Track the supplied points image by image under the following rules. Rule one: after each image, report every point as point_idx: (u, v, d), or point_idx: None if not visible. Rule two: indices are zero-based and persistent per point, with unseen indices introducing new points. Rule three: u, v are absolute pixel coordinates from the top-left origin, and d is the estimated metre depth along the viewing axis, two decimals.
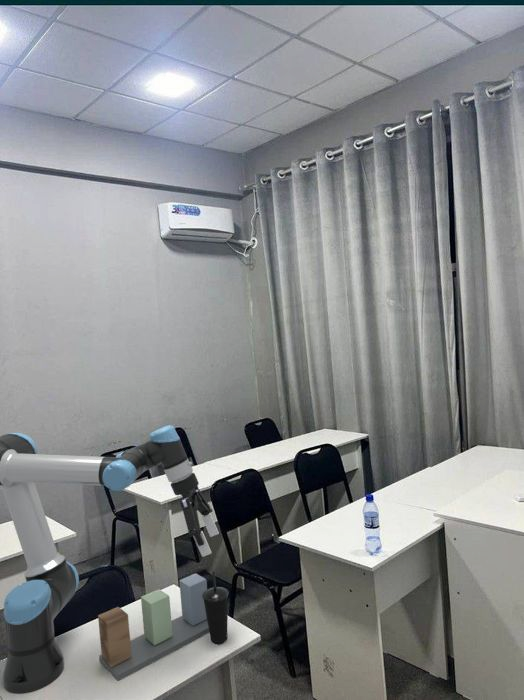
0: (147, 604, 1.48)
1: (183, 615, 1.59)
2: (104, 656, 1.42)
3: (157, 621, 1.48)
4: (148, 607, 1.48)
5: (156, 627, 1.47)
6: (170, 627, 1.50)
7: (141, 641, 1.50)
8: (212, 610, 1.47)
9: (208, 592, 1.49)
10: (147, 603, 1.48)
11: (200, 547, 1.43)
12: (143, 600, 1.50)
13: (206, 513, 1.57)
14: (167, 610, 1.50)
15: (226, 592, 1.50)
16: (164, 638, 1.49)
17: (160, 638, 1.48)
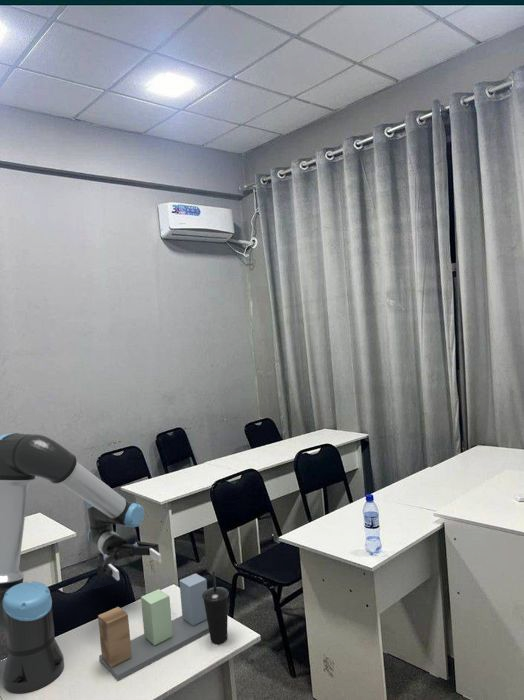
0: (147, 604, 1.48)
1: (183, 615, 1.59)
2: (104, 656, 1.42)
3: (157, 621, 1.48)
4: (148, 607, 1.48)
5: (156, 627, 1.47)
6: (170, 627, 1.50)
7: (141, 641, 1.50)
8: (212, 610, 1.47)
9: (208, 592, 1.49)
10: (147, 603, 1.48)
11: None
12: (143, 600, 1.50)
13: None
14: (167, 610, 1.50)
15: (226, 592, 1.50)
16: (164, 638, 1.49)
17: (160, 638, 1.48)
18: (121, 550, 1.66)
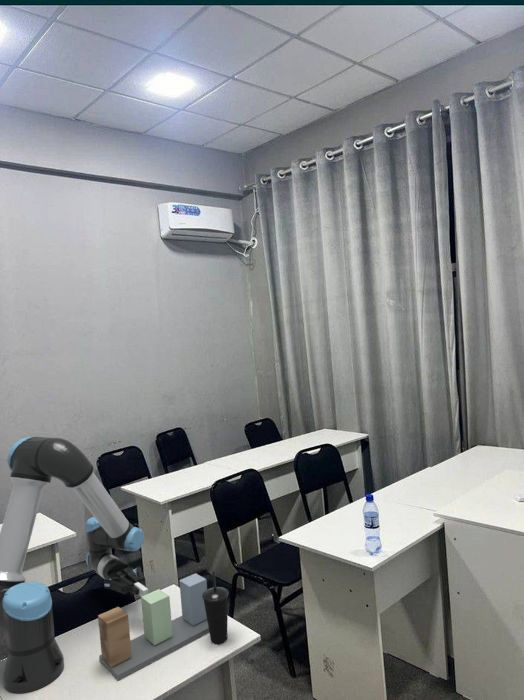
0: (147, 604, 1.48)
1: (183, 615, 1.59)
2: (104, 656, 1.42)
3: (157, 621, 1.48)
4: (148, 607, 1.48)
5: (156, 627, 1.47)
6: (170, 627, 1.50)
7: (141, 641, 1.50)
8: (212, 610, 1.47)
9: (208, 592, 1.49)
10: (147, 603, 1.48)
11: None
12: (143, 600, 1.50)
13: None
14: (167, 610, 1.50)
15: (226, 592, 1.50)
16: (164, 638, 1.49)
17: (160, 638, 1.48)
18: (122, 574, 1.68)
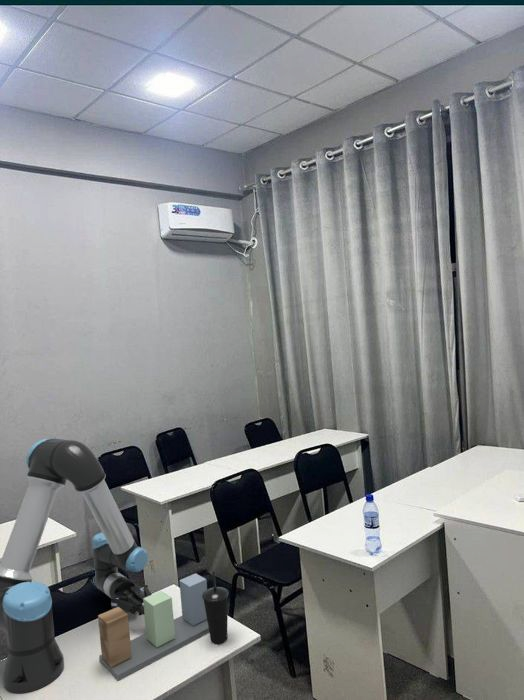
0: (149, 606, 1.47)
1: (183, 615, 1.59)
2: (104, 656, 1.42)
3: (159, 623, 1.46)
4: (150, 608, 1.47)
5: (159, 629, 1.46)
6: (172, 629, 1.49)
7: (141, 641, 1.50)
8: (212, 610, 1.47)
9: (208, 592, 1.49)
10: (149, 605, 1.47)
11: None
12: (145, 602, 1.49)
13: None
14: (169, 612, 1.49)
15: (226, 592, 1.50)
16: (166, 640, 1.48)
17: (162, 640, 1.47)
18: (130, 593, 1.64)
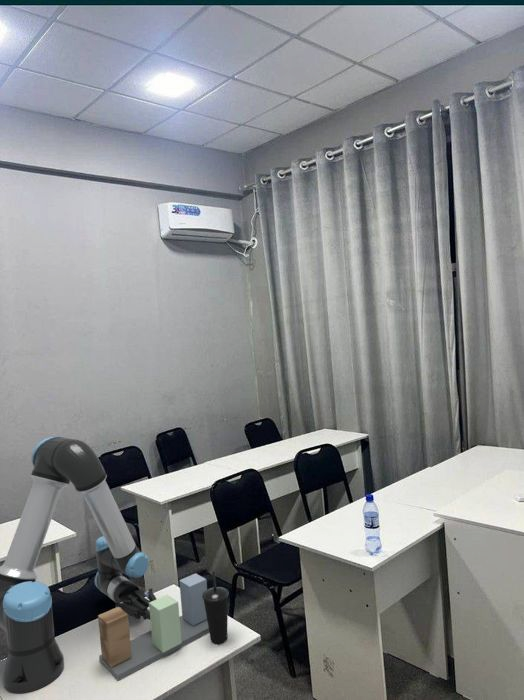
0: (155, 611, 1.44)
1: (183, 615, 1.59)
2: (104, 656, 1.42)
3: (165, 628, 1.44)
4: (156, 613, 1.44)
5: (165, 634, 1.44)
6: (179, 634, 1.47)
7: (141, 641, 1.50)
8: (212, 610, 1.47)
9: (208, 592, 1.49)
10: (155, 609, 1.44)
11: None
12: (151, 606, 1.46)
13: None
14: (176, 616, 1.46)
15: (226, 592, 1.50)
16: (173, 645, 1.45)
17: (169, 645, 1.44)
18: (134, 597, 1.61)
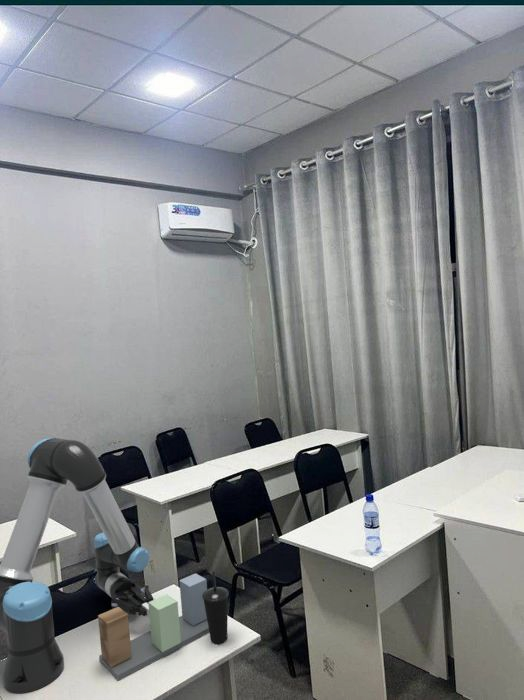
0: (154, 610, 1.45)
1: (183, 615, 1.59)
2: (104, 656, 1.42)
3: (165, 627, 1.44)
4: (156, 612, 1.44)
5: (164, 633, 1.44)
6: (178, 633, 1.47)
7: (141, 641, 1.50)
8: (212, 610, 1.47)
9: (208, 592, 1.49)
10: (155, 609, 1.44)
11: None
12: (150, 606, 1.47)
13: None
14: (175, 616, 1.46)
15: (226, 592, 1.50)
16: (172, 645, 1.45)
17: (168, 645, 1.45)
18: (130, 593, 1.64)
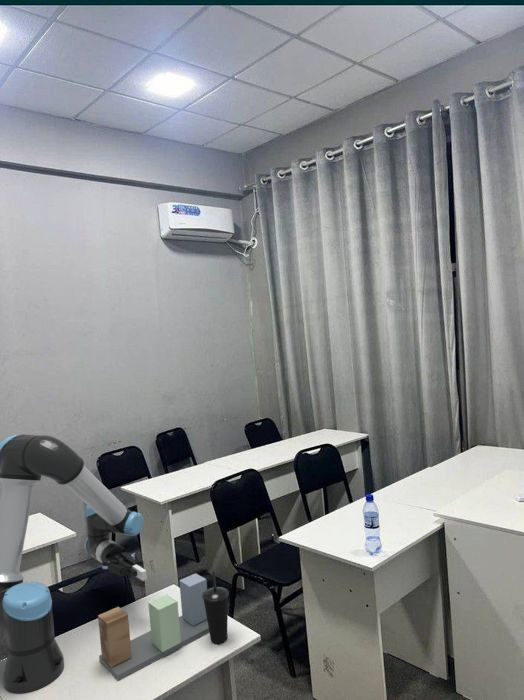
0: (154, 610, 1.45)
1: (183, 615, 1.59)
2: (104, 656, 1.42)
3: (165, 627, 1.44)
4: (156, 612, 1.44)
5: (164, 633, 1.44)
6: (178, 633, 1.47)
7: (141, 641, 1.50)
8: (212, 610, 1.47)
9: (208, 592, 1.49)
10: (155, 609, 1.44)
11: None
12: (150, 606, 1.47)
13: None
14: (175, 616, 1.46)
15: (226, 592, 1.50)
16: (172, 645, 1.45)
17: (168, 645, 1.45)
18: (121, 558, 1.67)
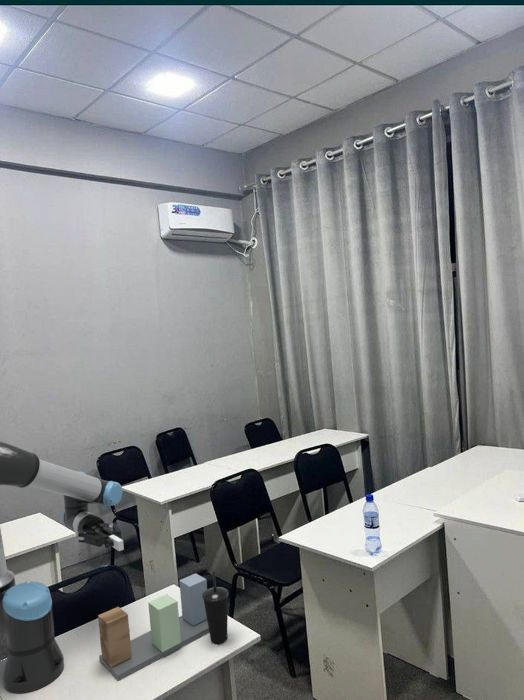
0: (154, 610, 1.45)
1: (183, 615, 1.59)
2: (104, 656, 1.42)
3: (165, 627, 1.44)
4: (156, 612, 1.44)
5: (164, 633, 1.44)
6: (178, 633, 1.47)
7: (141, 641, 1.50)
8: (212, 610, 1.47)
9: (208, 592, 1.49)
10: (155, 609, 1.44)
11: None
12: (150, 606, 1.47)
13: None
14: (175, 616, 1.46)
15: (226, 592, 1.50)
16: (172, 645, 1.45)
17: (168, 645, 1.45)
18: (98, 529, 1.61)
